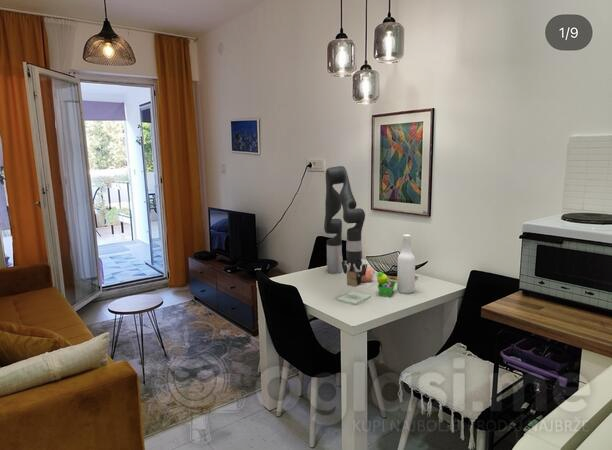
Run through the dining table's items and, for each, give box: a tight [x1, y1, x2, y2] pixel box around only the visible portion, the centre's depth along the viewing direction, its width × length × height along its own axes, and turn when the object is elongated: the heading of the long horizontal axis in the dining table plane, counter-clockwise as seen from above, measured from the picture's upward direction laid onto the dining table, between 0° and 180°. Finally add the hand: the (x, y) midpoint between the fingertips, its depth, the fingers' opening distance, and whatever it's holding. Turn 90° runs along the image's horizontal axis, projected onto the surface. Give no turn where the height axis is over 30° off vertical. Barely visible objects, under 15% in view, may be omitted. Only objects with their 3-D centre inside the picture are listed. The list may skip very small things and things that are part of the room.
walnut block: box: [346, 270, 362, 288], centre depth 202 cm, size 5×5×7 cm
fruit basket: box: [376, 271, 396, 297], centre depth 211 cm, size 11×9×11 cm
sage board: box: [336, 291, 372, 306], centre depth 204 cm, size 14×11×1 cm
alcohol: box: [396, 233, 416, 295], centre depth 212 cm, size 9×9×30 cm
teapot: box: [361, 266, 375, 283], centre depth 234 cm, size 12×15×8 cm
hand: (354, 282), depth 203 cm, fingers closed on walnut block, 5 cm apart
